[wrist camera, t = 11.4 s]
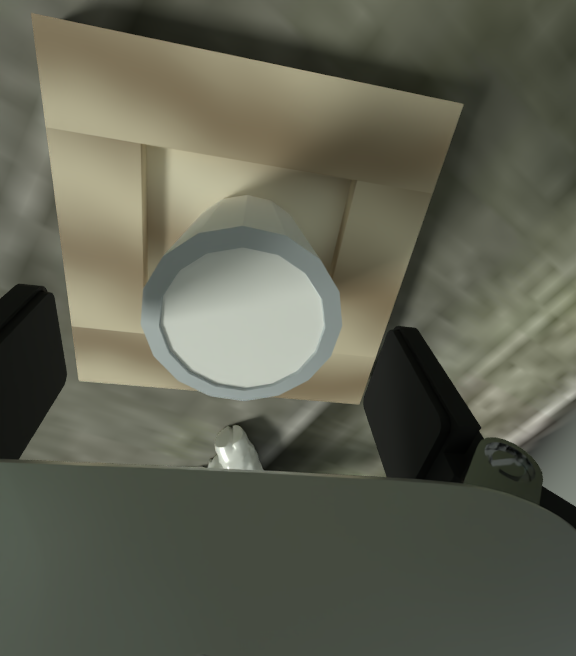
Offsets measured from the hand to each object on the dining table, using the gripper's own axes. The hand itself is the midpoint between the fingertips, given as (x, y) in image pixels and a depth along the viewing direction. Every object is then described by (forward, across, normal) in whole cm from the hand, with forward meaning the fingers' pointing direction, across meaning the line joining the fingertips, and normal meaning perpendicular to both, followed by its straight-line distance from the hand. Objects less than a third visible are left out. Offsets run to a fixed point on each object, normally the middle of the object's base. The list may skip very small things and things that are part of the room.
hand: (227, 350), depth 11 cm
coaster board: (+10, 0, +1) cm, 10 cm away
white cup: (+9, 0, +1) cm, 9 cm away
